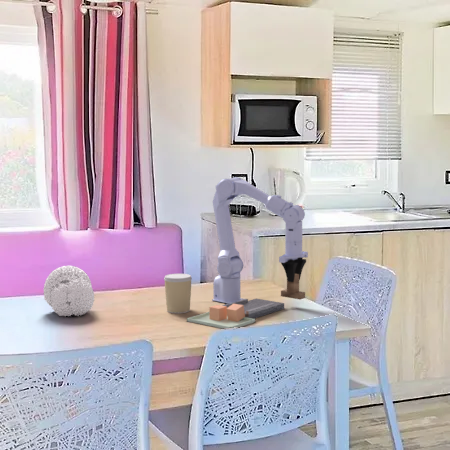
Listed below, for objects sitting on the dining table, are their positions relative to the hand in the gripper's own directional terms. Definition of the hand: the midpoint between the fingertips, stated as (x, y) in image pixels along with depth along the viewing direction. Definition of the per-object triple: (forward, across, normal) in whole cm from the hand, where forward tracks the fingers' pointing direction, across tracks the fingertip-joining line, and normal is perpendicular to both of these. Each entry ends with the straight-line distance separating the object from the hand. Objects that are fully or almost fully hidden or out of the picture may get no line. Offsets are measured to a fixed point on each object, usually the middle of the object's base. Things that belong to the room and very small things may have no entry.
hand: (293, 280), depth 256 cm
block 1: (+7, -26, +10) cm, 29 cm away
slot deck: (+9, -13, +8) cm, 18 cm away
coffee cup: (+10, -28, +28) cm, 41 cm away
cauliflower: (+10, -52, +54) cm, 76 cm away
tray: (+9, -30, +7) cm, 32 cm away
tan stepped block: (+6, 0, 0) cm, 6 cm away
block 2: (+9, -26, +5) cm, 27 cm away
